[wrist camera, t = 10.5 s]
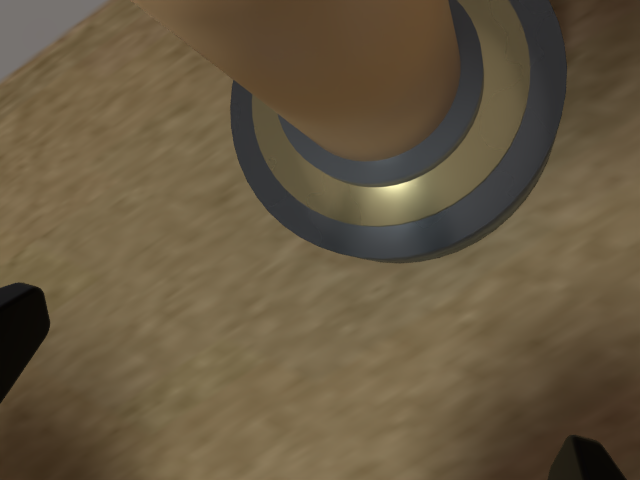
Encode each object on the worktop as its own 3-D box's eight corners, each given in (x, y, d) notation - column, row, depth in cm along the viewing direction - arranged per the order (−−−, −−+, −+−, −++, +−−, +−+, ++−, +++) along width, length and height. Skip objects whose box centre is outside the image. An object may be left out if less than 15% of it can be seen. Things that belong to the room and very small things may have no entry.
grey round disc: (585, 238, 18) (600, 227, 15) (280, 281, 21) (241, 279, 18) (529, -64, 19) (533, -132, 16) (253, 22, 23) (213, -21, 20)
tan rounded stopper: (528, 103, 16) (553, -177, 6) (349, 227, 17) (154, 146, 8) (409, -49, 17) (290, -451, 8) (254, 75, 19) (0, -142, 9)
